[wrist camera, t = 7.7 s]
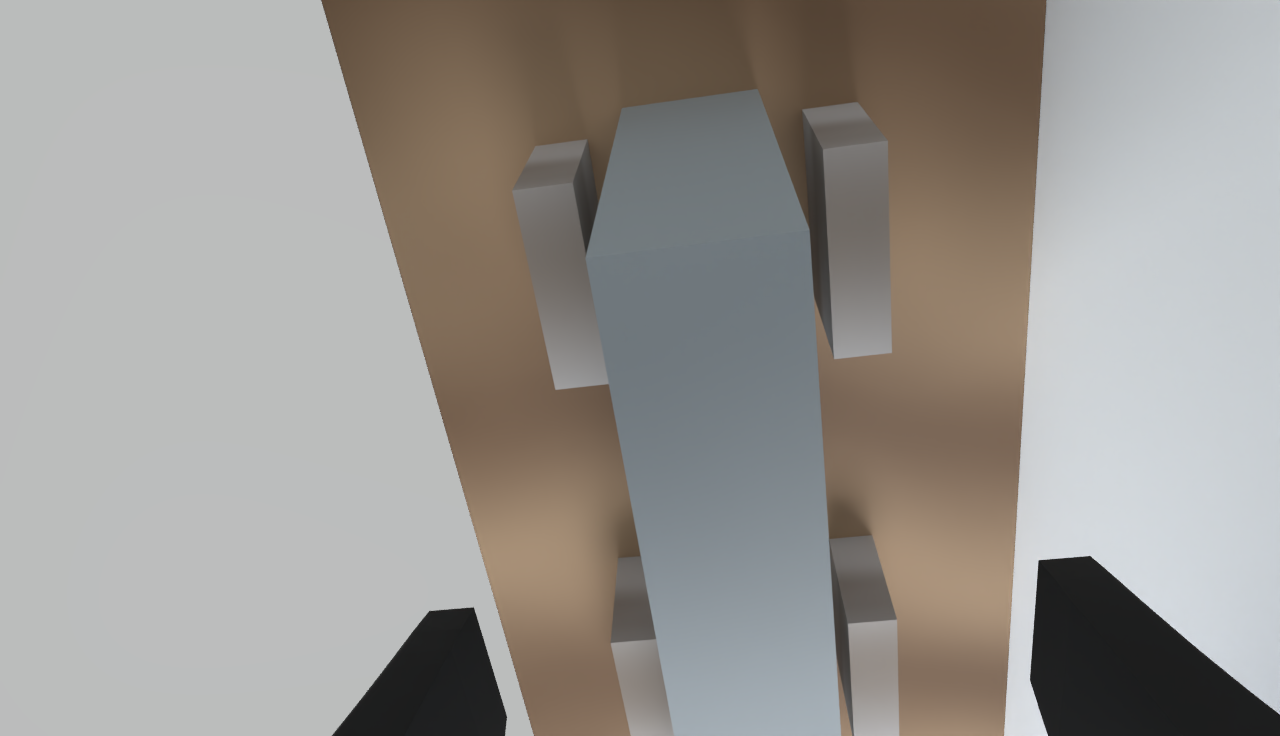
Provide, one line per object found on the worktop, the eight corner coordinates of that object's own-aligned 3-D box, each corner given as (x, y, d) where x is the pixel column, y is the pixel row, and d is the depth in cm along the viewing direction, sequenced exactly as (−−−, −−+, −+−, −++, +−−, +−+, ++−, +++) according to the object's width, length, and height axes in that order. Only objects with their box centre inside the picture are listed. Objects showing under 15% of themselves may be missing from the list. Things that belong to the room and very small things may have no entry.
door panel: (807, 679, 19) (857, 991, 14) (710, 686, 19) (722, 997, 14) (757, 88, 13) (808, 231, 8) (621, 107, 14) (585, 257, 8)
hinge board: (987, 753, 21) (1034, 888, 18) (562, 781, 22) (545, 913, 19) (1035, -294, 12) (1146, -347, 9) (301, -163, 13) (195, -173, 10)
